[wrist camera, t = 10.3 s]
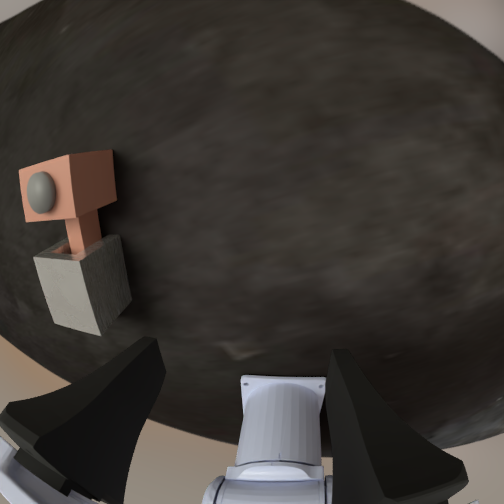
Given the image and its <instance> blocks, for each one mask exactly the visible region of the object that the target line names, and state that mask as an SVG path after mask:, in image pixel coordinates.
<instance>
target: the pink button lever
mask: <svg viewBox="0 0 504 504" xmlns="http://www.w3.org/2000/svg"><path fill="white" fill-rule="evenodd" d="M19 176H20V185H21V193H22V200H23V207H24V213H25V218H26V222H33V221H44V220H56V219H65V223H66V228H67V233H68V238H69V243H70V248H71V252H72V254H75V255H76V254H78V253H79V252H81V251H82V250H84V249H86V248H87V247H89V246H91V245H92V244H94V243H95V242H97V241H99V240H100V239H102V236H101V230H100V225H99V218H98V212H97V209H98V208H100V207H103V206H105V205H108V204H110V203H112V202H115V201H117V196H116V187H115V177H114V166H113V151H112V150H102V151H93V152H85V153H77V154H70V155H66V156H62V157H59V158H55V159H52V160H49V161H45V162H42V163H39V164H36V165H33V166H30V167H27V168H24V169H21V170H19Z"/></svg>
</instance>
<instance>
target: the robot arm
mask: <svg viewBox="0 0 504 504" xmlns="http://www.w3.org/2000/svg"><path fill="white" fill-rule="evenodd" d="M165 374H166V369H165V366H164V363H163V360H162V356H161V353H160V349H159V346H158V342H157V339H156V338H151V337H143V338H141V339H140V340H138V341H137V342H135V343H134V344H133V345H131V346H130V347H129V348H127V349H126V350H124V351H123V352H122V353H120V354H119V355H118V356H116V357H115V358H113V359H112V360H111V361H109V362H108V363H106V364H105V365H103V366H102V367H100V368H99V369H97V370H95V371H94V372H92V373H91V374H89V375H87V376H86V377H84V378H82V379H80V380H78V381H76V382H74V383H72V384H70V385H68V386H66V387H64V388H61V389H59V390H56V391H54V392H51V393H48V394H45V395H42V396H38V397H34V398H30V399H26V400H20V401H14V402H9V404H8V405H7V406H6V408H5V409H4V410H3V411H2V413H1V414H0V426H1V428H2V429H3V430H4V431H5V432H6V433H7V434H8V435H9V437H10V438H11V439H12V440H13V441H14V442H15V443H16V444H17V445H18V446H19V447H20V448H19V450H18V451H17V450H16V449H15V448H14V447H13V446H11V445H10V444H9V443H8V442H7V441H6V440H4V439H3V438H2V437H1V436H0V493H2V495H3V496H4V497H5V498H6V499H7V500H8V501H9V502H10V504H98V503H96V502H94V501H92V500H91V499H94V500H96V501H99V502H100V501H103V502H105V503H107V504H123V502H124V494H125V487H126V482H127V477H128V472H129V467H130V464H131V460H132V457H133V453H134V450H135V446H136V443H137V440H138V437H139V435H140V432H141V430H142V428H143V425H144V424H145V421H146V419H147V417H148V415H149V413H150V411H151V409H152V407H153V405H154V403H155V401H156V399H157V397H158V394H159V392H160V390H161V387H162V384H163V381H164V377H165ZM241 390H242V402H243V414H244V418H243V423H242V429H241V434H240V440H239V445H238V451H237V456H236V461H235V466H234V467H228V468H227V473H226V476H219V477H217V478H216V479H215V480H214V481H212V482H211V483H210V484H209V486H208V487H207V489H206V491H205V494H204V497H203V501H202V504H448V499H449V498H450V497H451V496H453V495H455V494H456V493H457V492H459V491H460V490H462V489H463V488H464V487H465V486H466V485H467V484H468V482H469V480H468V476H467V472H466V469H465V466H464V464H463V461H462V460H460V459H458V458H456V457H454V456H452V455H450V454H448V453H446V452H444V451H443V450H441V449H439V448H438V447H436V446H435V445H433V444H432V443H430V442H429V441H427V440H426V439H425V438H423V437H422V436H421V435H420V434H418V433H417V432H416V431H414V430H413V429H412V428H411V427H410V426H408V425H407V424H406V423H405V422H404V421H403V420H402V419H401V418H400V417H399V416H398V415H397V414H396V413H395V412H394V411H393V410H392V409H391V408H390V407H389V405H388V404H387V403H386V402H385V401H384V400H383V398H382V397H381V396H380V395H379V394H378V392H377V391H376V390H375V388H374V387H373V386H372V384H371V383H370V382H369V380H368V379H367V378H366V376H365V375H364V373H363V372H362V370H361V369H360V367H359V366H358V364H357V363H356V361H355V360H354V358H353V356H352V355H351V353H350V352H349V350H348V349H334V350H332V353H331V358H330V363H329V368H328V373H327V377H326V378H325V377H275V376H255V375H243V376H242V377H241ZM324 395H325V398H326V410H327V417H328V424H329V431H330V438H331V445H332V455H333V476H332V475H328V476H325V481H324V467H323V466H321V438H320V418H319V414H320V410H321V407H322V403H323V399H324ZM469 504H479V501H478V500H475V501H473V502H471V503H469Z"/></svg>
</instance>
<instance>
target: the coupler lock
mask: <svg viewBox="0 0 504 504" xmlns="http://www.w3.org/2000/svg"><path fill="white" fill-rule="evenodd" d="M34 261H35V265H36V268H37V272H38V276H39V279H40V282H41V286H42V289H43V292H44V295H45V298H46V301H47V304H48V306H49V309H50V312H51V315H52V317H53V320H54V322H55V324H59V325H62V326H65V327H69V328H72V329H76V330H80V331H83V332H87V333H91V334H95V335H99V336H102V334H103V333H104V332H105V331H106V330H107V329H108V327H109V326H110V325H111V324H112V323H113V322H114V320H115V319H116V318H117V317H118V316H119V315H120V314H121V312H122V311H123V310H124V309H125V308H126V307H127V306H128V305H129V303H130V302H131V301H132V296H131V292H130V287H129V282H128V277H127V272H126V267H125V262H124V256H123V250H122V244H121V237H120V235H107V236H105V237H104V238H102V239H100V240H99V241H97V242H95V243H94V244H92V245H91V246H89V247H87V248H86V249H84V250H82V251H81V252H79V253H78V254H76V255H75V254H72V252H71V248H70V243H69V238H66V239H64V240H62V241H60V242H58V243H57V244H55V245H53V246H51V247H50V248H48V249H46V250H44V251H43V252H41V253H39V254H37V255H36V256H34Z"/></svg>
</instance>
